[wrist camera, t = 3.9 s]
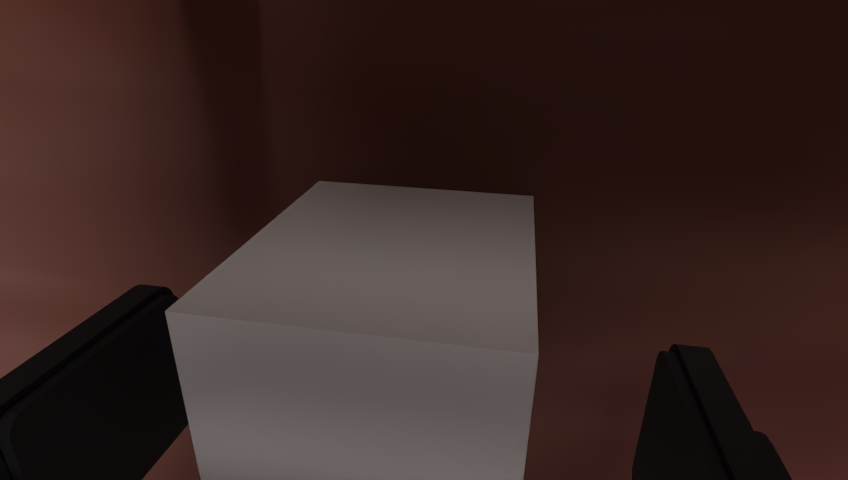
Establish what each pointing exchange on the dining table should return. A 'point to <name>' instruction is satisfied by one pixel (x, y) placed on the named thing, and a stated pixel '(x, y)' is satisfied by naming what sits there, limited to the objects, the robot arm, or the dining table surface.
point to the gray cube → (366, 340)
